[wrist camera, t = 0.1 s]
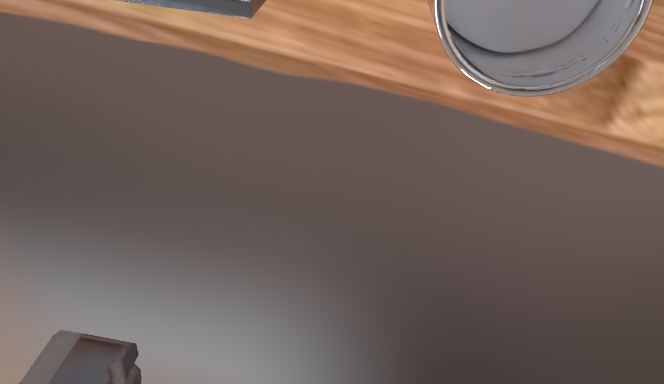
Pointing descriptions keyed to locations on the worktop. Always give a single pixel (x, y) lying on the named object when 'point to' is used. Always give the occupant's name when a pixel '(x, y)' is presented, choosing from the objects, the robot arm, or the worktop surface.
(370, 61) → the worktop surface
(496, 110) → the worktop surface
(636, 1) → the metal tumbler
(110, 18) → the worktop surface
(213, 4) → the dark gray square tray
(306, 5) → the worktop surface
